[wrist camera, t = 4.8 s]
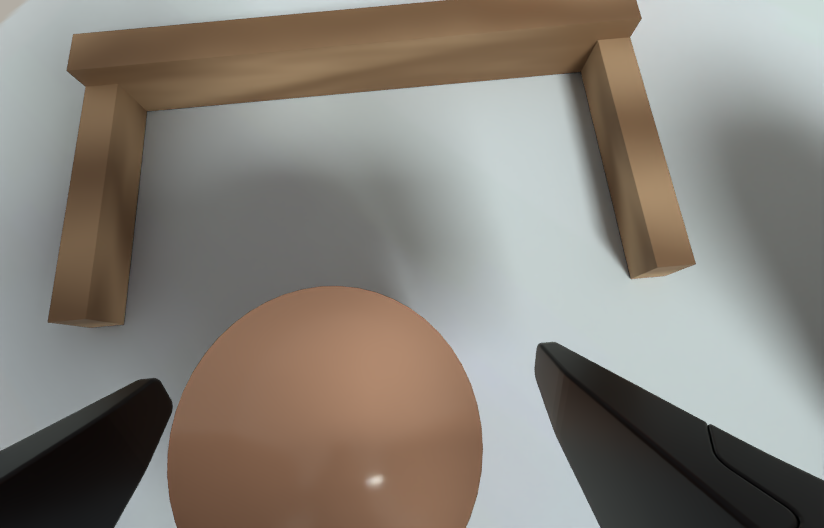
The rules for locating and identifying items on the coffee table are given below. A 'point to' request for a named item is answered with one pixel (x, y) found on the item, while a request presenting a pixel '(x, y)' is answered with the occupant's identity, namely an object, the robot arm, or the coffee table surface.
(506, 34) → the bay
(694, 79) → the coffee table surface
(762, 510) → the robot arm
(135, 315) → the coffee table surface
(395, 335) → the tan cylinder
